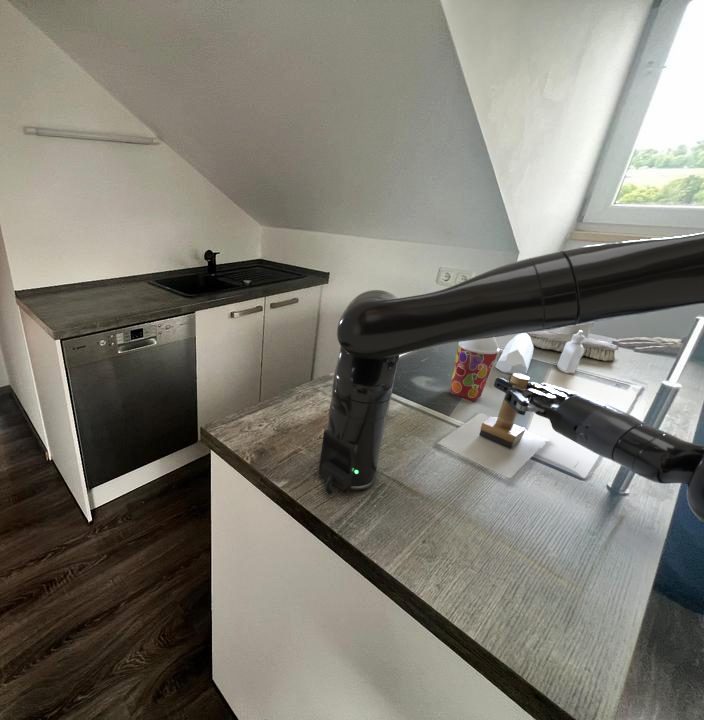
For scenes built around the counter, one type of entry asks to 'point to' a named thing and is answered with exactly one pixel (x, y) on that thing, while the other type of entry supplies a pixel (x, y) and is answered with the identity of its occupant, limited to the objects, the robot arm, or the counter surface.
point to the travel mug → (577, 329)
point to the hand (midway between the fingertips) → (503, 380)
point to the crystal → (516, 355)
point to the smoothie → (473, 367)
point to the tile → (492, 447)
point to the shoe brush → (558, 341)
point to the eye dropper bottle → (571, 354)
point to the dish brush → (505, 420)
